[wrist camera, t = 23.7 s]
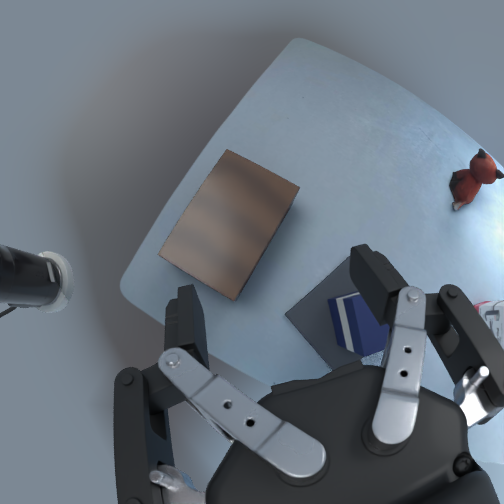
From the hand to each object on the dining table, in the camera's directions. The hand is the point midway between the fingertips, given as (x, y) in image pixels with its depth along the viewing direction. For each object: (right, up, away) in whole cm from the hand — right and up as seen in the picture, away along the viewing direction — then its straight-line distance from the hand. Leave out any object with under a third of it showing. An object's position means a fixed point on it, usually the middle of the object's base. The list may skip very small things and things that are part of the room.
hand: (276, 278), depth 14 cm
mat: (+14, -9, +30) cm, 34 cm away
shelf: (-4, +4, +32) cm, 32 cm away
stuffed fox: (+41, +14, +34) cm, 55 cm away
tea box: (+14, -9, +29) cm, 34 cm away
